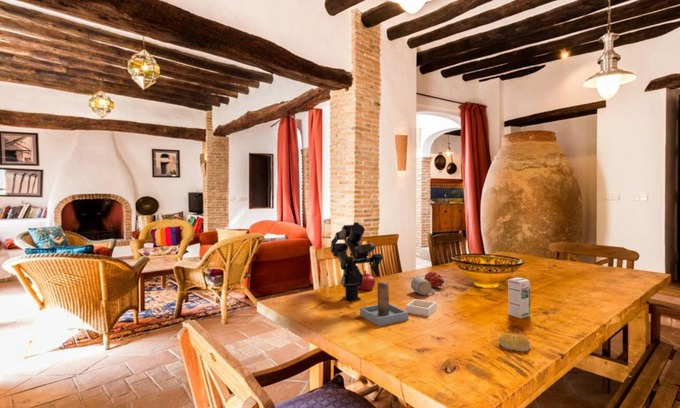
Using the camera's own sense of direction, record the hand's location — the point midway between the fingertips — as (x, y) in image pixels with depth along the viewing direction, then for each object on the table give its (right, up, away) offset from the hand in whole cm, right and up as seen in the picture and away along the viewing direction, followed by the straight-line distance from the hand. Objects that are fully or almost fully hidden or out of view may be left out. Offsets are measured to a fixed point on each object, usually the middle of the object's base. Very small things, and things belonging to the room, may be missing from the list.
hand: (369, 277), depth 154 cm
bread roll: (+44, -15, -36) cm, 59 cm away
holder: (+21, -13, -2) cm, 25 cm away
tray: (+5, -14, -9) cm, 17 cm away
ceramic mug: (+28, -13, +24) cm, 39 cm away
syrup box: (+59, -13, -8) cm, 61 cm away
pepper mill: (+5, -13, -9) cm, 16 cm away
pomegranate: (+1, -13, +34) cm, 36 cm away
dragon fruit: (+36, -12, +35) cm, 52 cm away
